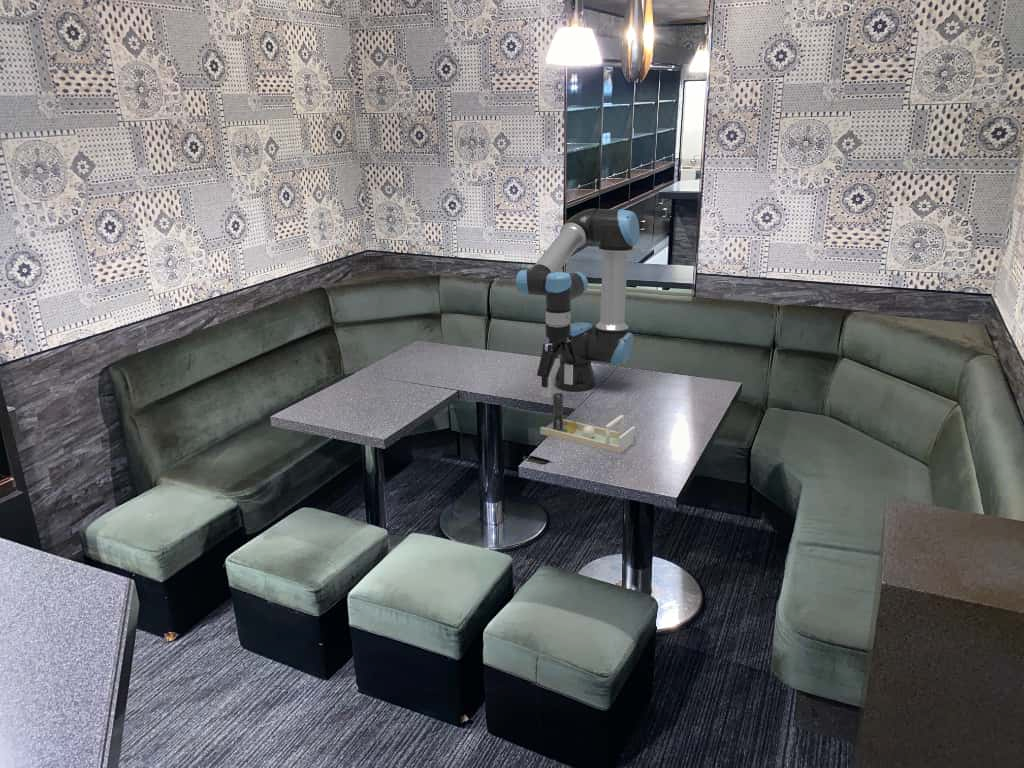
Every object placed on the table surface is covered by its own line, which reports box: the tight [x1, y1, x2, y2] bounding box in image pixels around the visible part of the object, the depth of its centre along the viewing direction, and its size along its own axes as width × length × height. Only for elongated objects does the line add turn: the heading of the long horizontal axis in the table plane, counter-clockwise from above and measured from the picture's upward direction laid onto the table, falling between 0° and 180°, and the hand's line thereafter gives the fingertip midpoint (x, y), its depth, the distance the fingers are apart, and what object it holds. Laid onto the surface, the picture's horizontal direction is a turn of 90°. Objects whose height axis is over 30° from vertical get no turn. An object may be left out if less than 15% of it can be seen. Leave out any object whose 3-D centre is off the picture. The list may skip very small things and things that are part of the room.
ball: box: [582, 425, 595, 438], centre depth 242 cm, size 4×4×4 cm
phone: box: [522, 453, 551, 465], centre depth 236 cm, size 8×1×15 cm
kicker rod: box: [545, 392, 577, 434], centre depth 246 cm, size 8×7×12 cm
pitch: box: [539, 414, 636, 454], centre depth 242 cm, size 28×10×9 cm, turn 56°
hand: (557, 390), depth 244 cm, fingers open, 13 cm apart
